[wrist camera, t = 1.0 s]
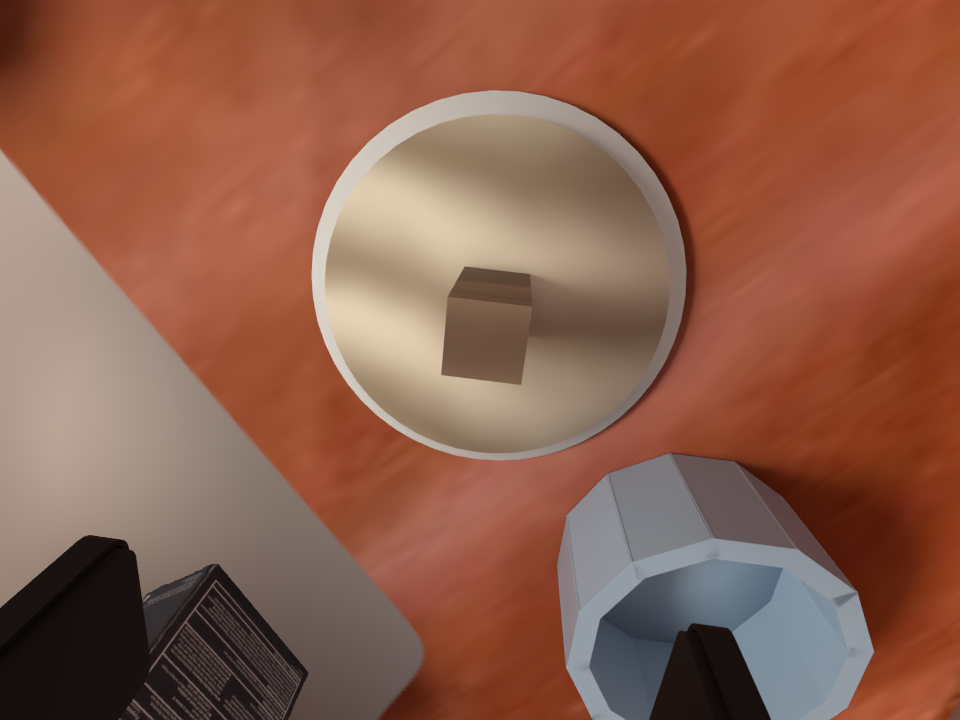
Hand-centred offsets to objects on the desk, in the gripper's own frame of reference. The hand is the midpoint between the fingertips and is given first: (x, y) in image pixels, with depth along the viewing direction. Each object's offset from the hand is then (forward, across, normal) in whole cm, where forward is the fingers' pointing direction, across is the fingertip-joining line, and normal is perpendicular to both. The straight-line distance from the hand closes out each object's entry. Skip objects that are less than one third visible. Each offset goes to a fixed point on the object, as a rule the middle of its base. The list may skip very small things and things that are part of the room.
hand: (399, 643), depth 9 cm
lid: (+19, -1, -2) cm, 19 cm away
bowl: (+19, -13, +12) cm, 26 cm away
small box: (+19, +14, +24) cm, 34 cm away
